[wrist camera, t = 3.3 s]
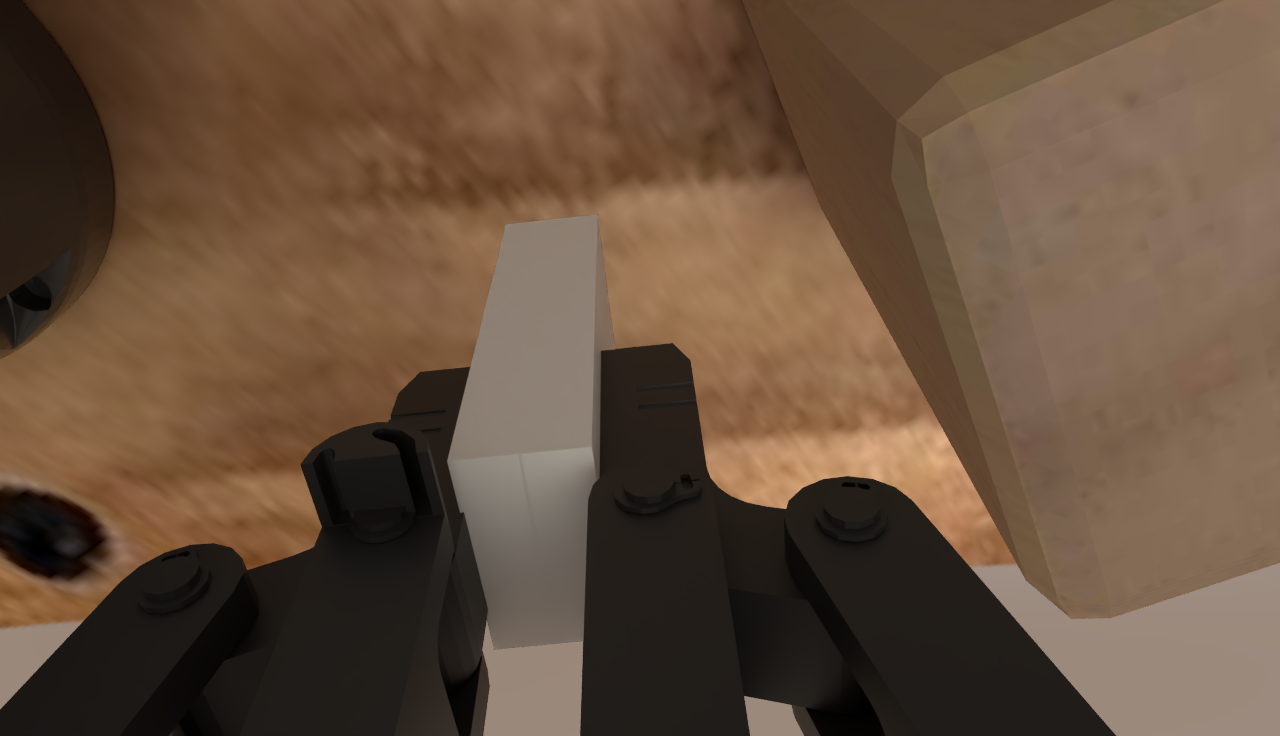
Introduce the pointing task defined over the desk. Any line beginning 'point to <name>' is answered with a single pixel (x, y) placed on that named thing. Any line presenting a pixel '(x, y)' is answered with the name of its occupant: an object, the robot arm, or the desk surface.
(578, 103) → the desk surface
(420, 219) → the desk surface
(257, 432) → the desk surface
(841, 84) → the block
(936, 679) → the robot arm
